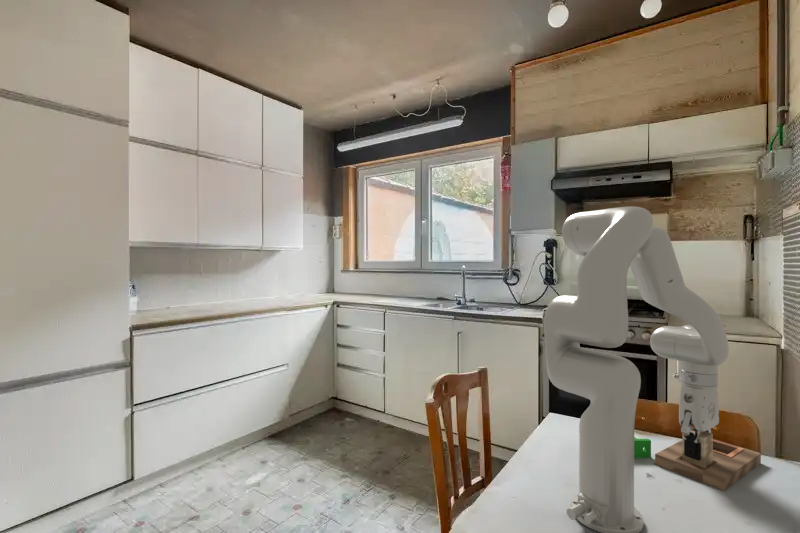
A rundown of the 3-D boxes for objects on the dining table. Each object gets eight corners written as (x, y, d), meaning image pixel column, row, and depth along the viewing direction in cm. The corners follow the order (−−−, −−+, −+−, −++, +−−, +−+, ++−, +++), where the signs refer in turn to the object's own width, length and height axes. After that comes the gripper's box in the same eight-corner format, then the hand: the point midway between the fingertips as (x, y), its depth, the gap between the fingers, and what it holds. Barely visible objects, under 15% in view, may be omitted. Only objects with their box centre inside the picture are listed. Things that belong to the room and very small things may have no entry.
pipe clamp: (642, 451, 108) (642, 434, 107) (650, 458, 104) (651, 440, 104) (599, 451, 108) (599, 433, 108) (606, 458, 104) (606, 439, 104)
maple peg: (704, 477, 94) (704, 438, 94) (682, 469, 98) (682, 431, 98) (712, 472, 97) (712, 433, 97) (690, 464, 100) (690, 427, 100)
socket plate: (724, 490, 89) (724, 478, 89) (655, 464, 100) (655, 453, 100) (760, 463, 101) (760, 452, 101) (695, 442, 112) (695, 432, 112)
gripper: (700, 388, 89) (700, 471, 89) (731, 376, 99) (730, 452, 99) (663, 380, 96) (662, 458, 96) (695, 369, 105) (695, 440, 105)
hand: (697, 454), depth 97 cm, fingers closed on maple peg, 4 cm apart
